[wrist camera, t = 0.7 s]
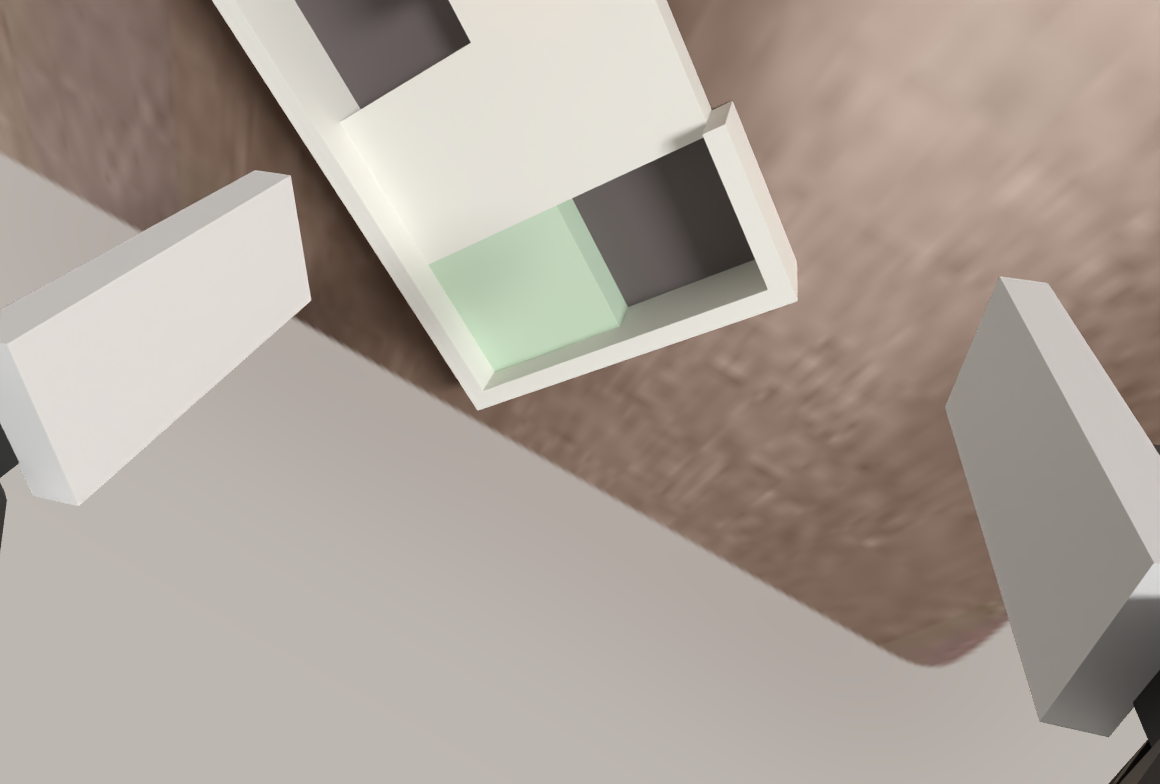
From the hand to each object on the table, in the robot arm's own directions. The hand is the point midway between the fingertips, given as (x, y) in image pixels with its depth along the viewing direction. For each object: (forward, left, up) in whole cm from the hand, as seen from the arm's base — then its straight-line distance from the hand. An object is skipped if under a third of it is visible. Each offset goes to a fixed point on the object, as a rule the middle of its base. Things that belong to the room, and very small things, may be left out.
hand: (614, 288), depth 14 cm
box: (-3, -9, -24) cm, 26 cm away
